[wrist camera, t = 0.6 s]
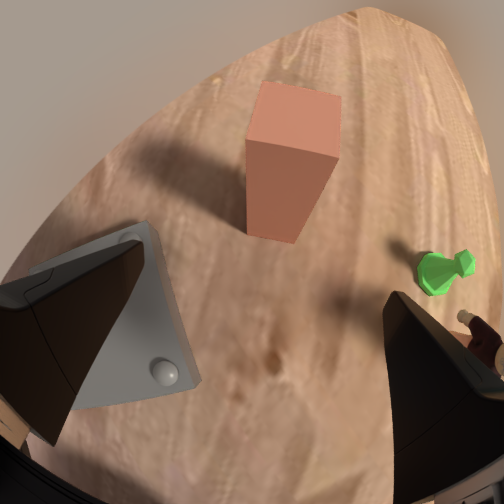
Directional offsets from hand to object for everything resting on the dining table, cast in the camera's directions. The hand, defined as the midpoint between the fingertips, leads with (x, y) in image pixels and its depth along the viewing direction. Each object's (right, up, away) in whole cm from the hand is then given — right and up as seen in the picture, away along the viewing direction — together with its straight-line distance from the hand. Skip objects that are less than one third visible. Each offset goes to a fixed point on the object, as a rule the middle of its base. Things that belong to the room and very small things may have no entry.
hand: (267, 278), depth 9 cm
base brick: (-13, -5, +12) cm, 18 cm away
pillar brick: (+1, +4, +15) cm, 15 cm away
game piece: (+17, -1, +14) cm, 22 cm away
